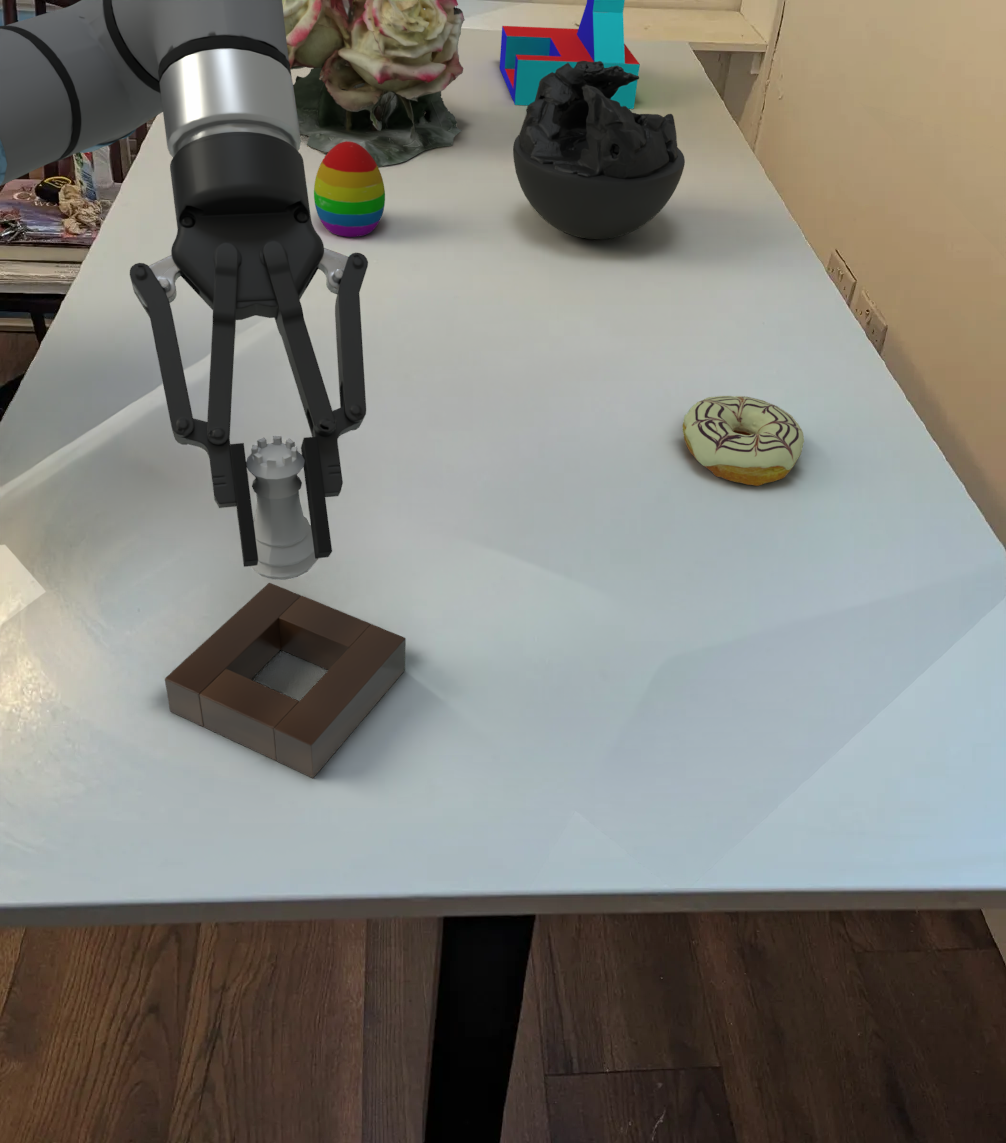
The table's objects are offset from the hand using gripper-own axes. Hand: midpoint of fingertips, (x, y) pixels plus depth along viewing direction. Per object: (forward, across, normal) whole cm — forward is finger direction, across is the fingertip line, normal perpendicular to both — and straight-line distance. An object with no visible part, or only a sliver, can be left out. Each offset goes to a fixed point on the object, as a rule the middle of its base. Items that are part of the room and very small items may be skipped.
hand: (287, 558), depth 63 cm
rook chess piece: (0, 0, -5) cm, 5 cm away
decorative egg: (-45, -16, -65) cm, 81 cm away
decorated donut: (-7, -42, -28) cm, 51 cm away
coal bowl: (-42, -44, -62) cm, 87 cm away
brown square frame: (+7, 0, -12) cm, 14 cm away
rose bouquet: (-68, -25, -88) cm, 114 cm away
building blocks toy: (-84, -60, -104) cm, 146 cm away
